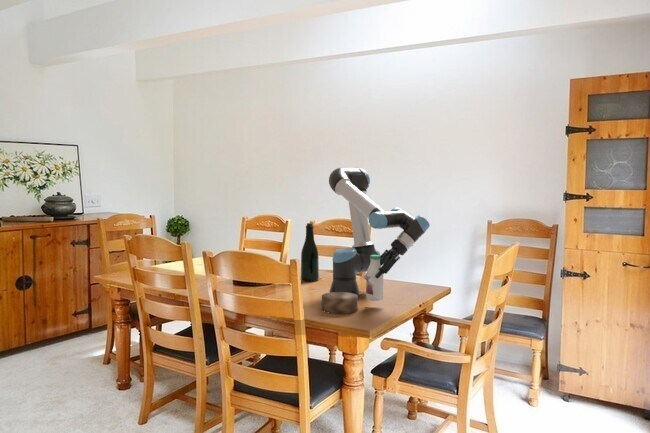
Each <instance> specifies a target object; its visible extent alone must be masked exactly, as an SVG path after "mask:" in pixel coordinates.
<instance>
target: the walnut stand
mask: <svg viewBox="0 0 650 433" xmlns="http://www.w3.org/2000/svg"><path fill="white" fill-rule="evenodd" d="M358 298H359V297H358V296H357V295H356V294H353V293H348V292H331V293H329V292H326V293H323V294H322V295H321V311H322V310H323V311H322V312H324V311H325V312H324V313H327V312H329V313H328V314H332V313H335V315H346V313H348V314H353V313H357V311H358V309H359V308H358V303H359V302H358V301H359V300H358Z"/></svg>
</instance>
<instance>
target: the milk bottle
mask: <svg viewBox="0 0 650 433" xmlns="http://www.w3.org/2000/svg"><path fill="white" fill-rule="evenodd" d="M380 256H381V254H380V255H370V260H371V262H370V266H369V268H368V270H367V272H366V273H367V277H366V280H365V287H366V288H365V290H366V291H365V298H366V300H368V301H373V302H375V301H377V302H378V301H382V300H383V299H384V274H382V275H381V277H380V278H379V279H378V280H377V281H376V282H375V283H374V284H373V285H372V284H371V283H370V282H369V281H368V280H369V279H370V278H371V277H372V276H373V275H374V274H375V273H376V271H377V270H379V269H378V268H381V267H382V266H381V265H380ZM379 271H380V270H379Z"/></svg>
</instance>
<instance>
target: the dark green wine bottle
mask: <svg viewBox="0 0 650 433" xmlns="http://www.w3.org/2000/svg"><path fill="white" fill-rule="evenodd" d="M319 264H320V262H319V250H318V247H317V244H316V240H315V238H314V225H313V223H310V222H308V223H306V225H305V239H304V243H303V245H302V249H301V253H300V280H301V281H302V282H307V281H312V282H317V281H319V279H320V266H319Z"/></svg>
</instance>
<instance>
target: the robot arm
mask: <svg viewBox="0 0 650 433" xmlns="http://www.w3.org/2000/svg"><path fill="white" fill-rule="evenodd" d="M328 184H329V187H330V188H331V190H332V191H333V192H334V193H335V194H336V195H337V196H341V197H342V198H344V199H345V200H347V201H348V208H349V212H350V213H349V215H350V221H351V230H352V236H353V238H352V239H353V245H352V246H351V247H343V248H337V249H336V250H334V252H333V255H332V281H331V285H330V289H329V291H328V293H331V292H348V293H353V294H356V295H357V296H358V298H359V297H360V295H361V294H360V293H361V292H360V289H359V285H358V281H357V274H359V273H364V275H363V276H362V278H363V279H364V280H365V281H366V277H367V270H368V268H369V266H370V262H371V260H370V255H380V265H381V268H378V269H379V270H380V271H379V270H377V271H376V273H375V274H374V275H373V276H372V277H371V278H370V279H369V280H368V281H369V282H370V283H371V284H372V285H373V284H374V283H375V282H376V281H377V280H378V279H379V278H380V277H381V275H382V274H383V275H385V274H387V273H388V272H390V271H391V269H392V267H394V265H395V264H396V263H397V262H398V261H399V260H400V259H401V257H400V256H404V255H405V254H406V253H407V252H408V250H409V249H410V248H411V247H413V246H414V244H415V243H416V242H417V241H418V240H419V238H421V237H422V236H423V235H424V234H426V232H427V231H428V229H429V228H430V227H431V226H430V224H431V223H430V222H429V221H428V220H427V219H426V218H425V217H424V216H423V215H420V214H418V215H417V216H415V217H414V216H413V215H411V214H410V213H408V212H406V210H404V209H402V208H400V207H394V208H392V209H391V210H389V211H385V210H384V209H383V208H381V207H380V206H379V205H378V204H376V203H375V202H374V201H373V200H372V199H370V198H369V197H368V196H367V195H366V194H367V193H368V191H367V190H368V188H369V187H370V184H371V179H370V175H369V173H368V172H367V171H366V170H365V169H363V168H360V167H359V168H358V167H338V168H336V169H334V170H333V171H331V173H330V174H329V177H328ZM369 225H370V227H371V228H372V229H377V230H383V229H389V228H400V229H402V231H401V232H400V233H399V235H397V236H396V238H395V239H394V240H393V241H392V242H391V243H390V246H391V248H390V249H385V251H383V253H382V254H381V252H380V251H379V249H378V248H375V243H373V241H372V240H371V234H370V227H369Z"/></svg>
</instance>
